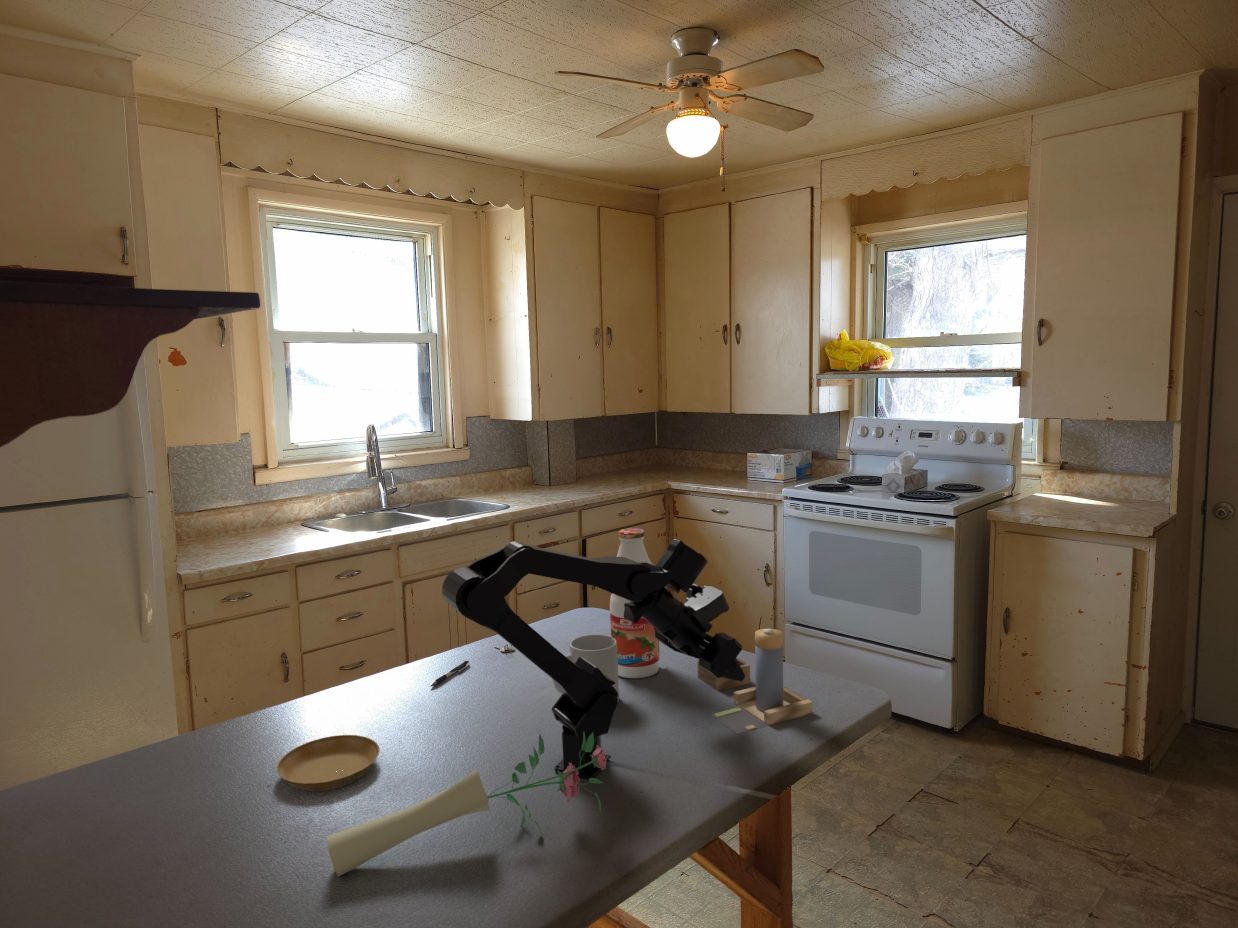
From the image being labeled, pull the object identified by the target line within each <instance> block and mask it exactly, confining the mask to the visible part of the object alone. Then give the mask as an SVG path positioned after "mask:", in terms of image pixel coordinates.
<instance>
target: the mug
mask: <svg viewBox="0 0 1238 928" xmlns="http://www.w3.org/2000/svg"><path fill="white" fill-rule="evenodd" d="M563 655H564V656H565V657H566V658H568V659H569V660H570V661H571V662H573V663H576V661H577V659H578V658H579V656H581V657H582V658H584V659H585V660H587V661H588V662H590V663H591V664H593V665H594V666H596V667H597V668H598V669H599V670H600V671H601V672H602V673H603V674H604V675H605V676H607V677H608V678H610V679H611V680H613V681H614V682H615V684H614V685H612V686H613V687H614V688H615V689H616V691H617V692H618V703H619V701H620V689H619V676H618V657H617V641H616V640H615V639H614V638H612V637H611V635H604V634H587V635H586V634H585V635H582V636H578V637H575V638H574V639H572V640H571V641H570V643H569V653H568V654H563ZM552 682H553V686H554V689H555V690H556V691H557V692H558V693H560V694H562V693H561V692H560V690H559V689H558V687H557V686H556V684H555V682H554V681H553V680H552Z"/></svg>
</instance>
